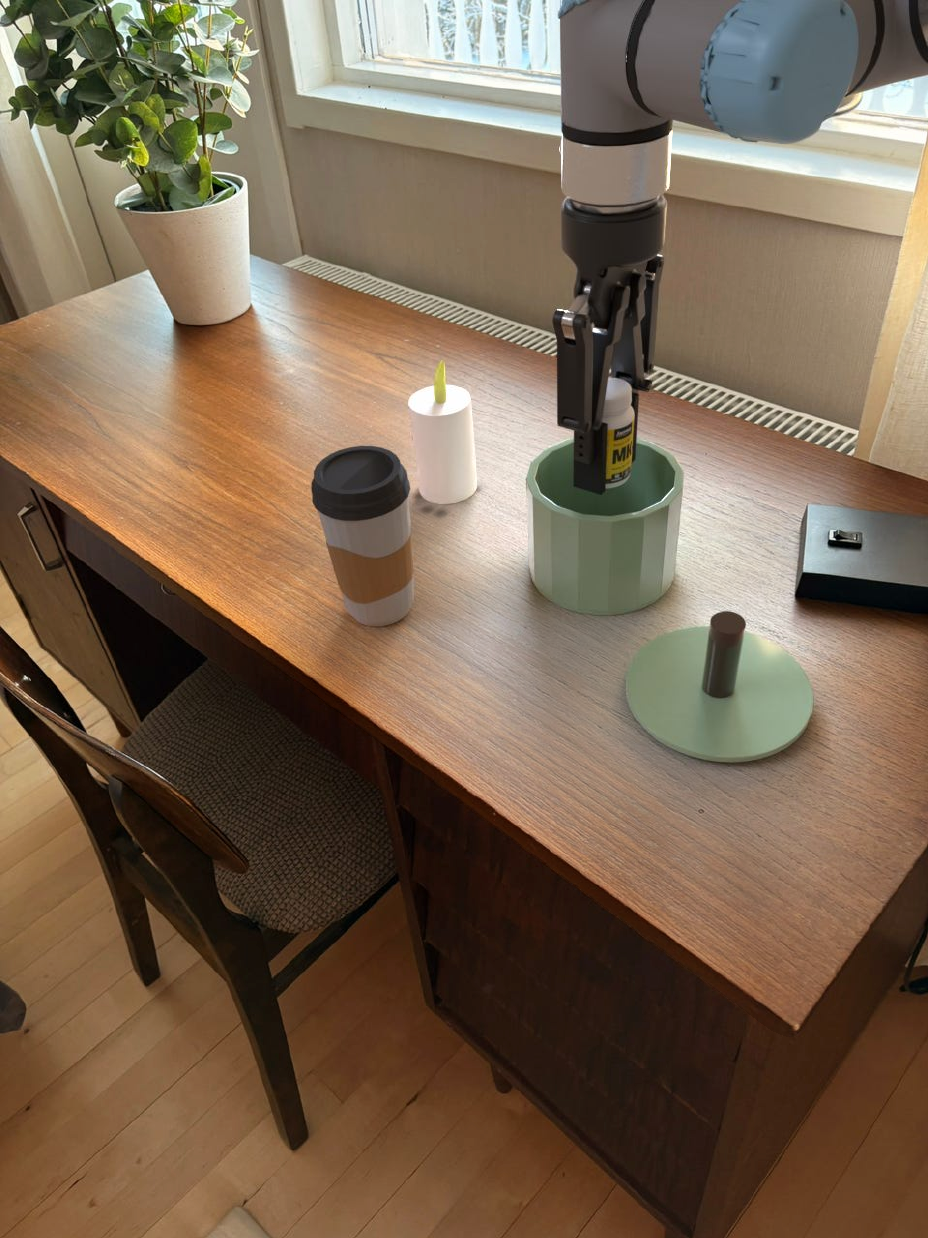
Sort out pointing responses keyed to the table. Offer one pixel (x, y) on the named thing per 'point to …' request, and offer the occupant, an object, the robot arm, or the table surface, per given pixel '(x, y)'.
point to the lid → (719, 692)
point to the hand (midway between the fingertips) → (604, 472)
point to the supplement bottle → (618, 431)
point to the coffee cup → (367, 531)
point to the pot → (603, 532)
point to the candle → (443, 441)
